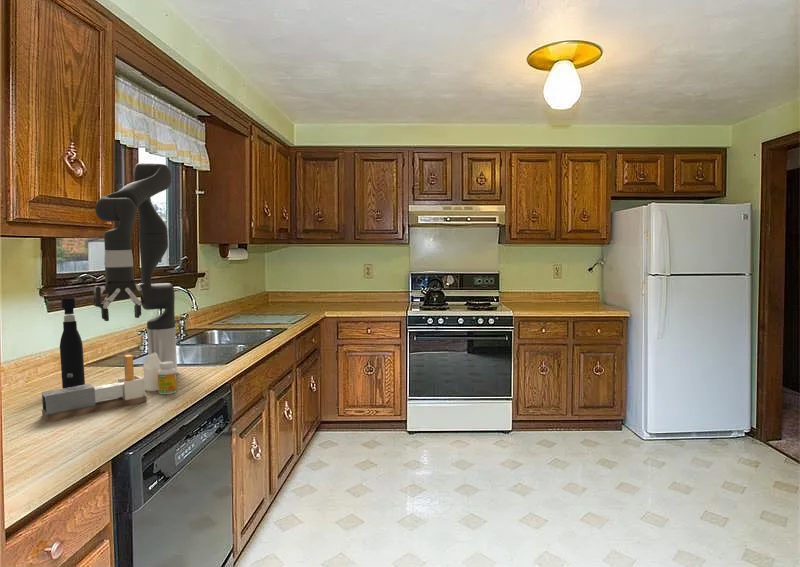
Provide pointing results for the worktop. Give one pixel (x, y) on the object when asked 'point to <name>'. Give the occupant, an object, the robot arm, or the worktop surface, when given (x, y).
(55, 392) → the grey rectangular box
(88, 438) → the worktop surface
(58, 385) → the worktop surface
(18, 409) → the worktop surface
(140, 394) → the socket
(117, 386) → the slide bolt
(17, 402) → the worktop surface
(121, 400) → the board
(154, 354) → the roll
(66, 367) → the black bottle
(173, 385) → the supplement bottle
